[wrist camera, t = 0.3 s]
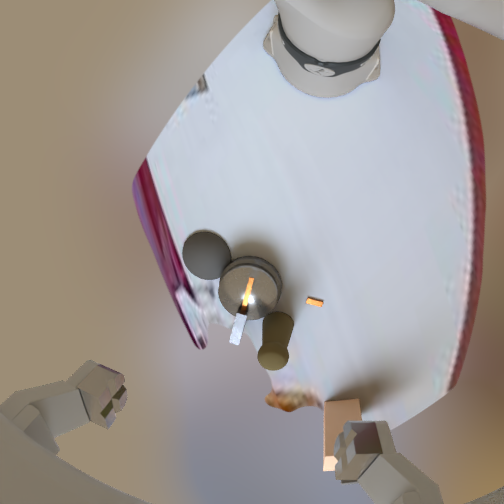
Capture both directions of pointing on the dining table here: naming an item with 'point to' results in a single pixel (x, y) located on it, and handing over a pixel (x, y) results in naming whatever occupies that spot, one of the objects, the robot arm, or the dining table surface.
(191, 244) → the coaster
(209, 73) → the dining table surface
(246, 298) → the saucepan
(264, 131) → the dining table surface
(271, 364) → the cork
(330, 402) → the soap dispenser
